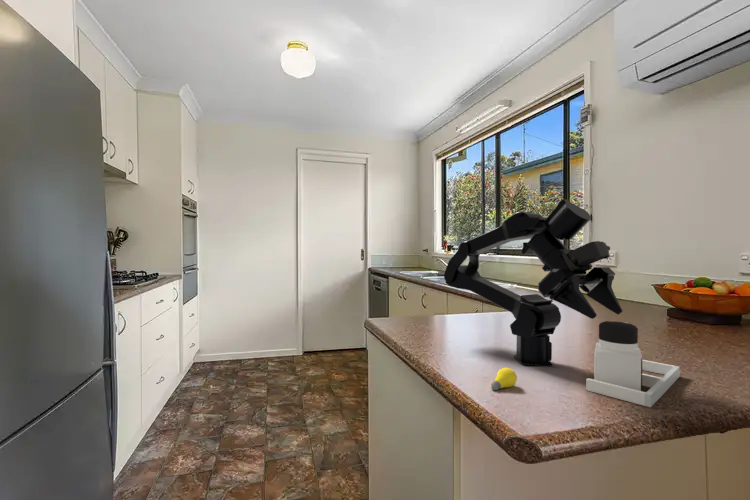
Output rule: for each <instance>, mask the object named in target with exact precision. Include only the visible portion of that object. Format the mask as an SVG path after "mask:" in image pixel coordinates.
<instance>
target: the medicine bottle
mask: <svg viewBox="0 0 750 500" xmlns="http://www.w3.org/2000/svg"><path fill="white" fill-rule="evenodd" d="M638 330H639V329H638V326H636V325H634V324H632V323H630V322H625V321H620V320H619V321H618V320H606V321H602V322H600V323H599V324H598V342H596V343H595V347H594V356H593V357H594V362H593V363H594V370H593V371H594V372H593V374H594V375H593V380H598V381H602V382H606V383H610V384H614V385H618V386H622V387H626V388H630V389H634V390H638V391H642V392H643V385H642V374H643V370H642V360H643V356H642V352H641V351H642V350H641V348H639V346H638V343H639V341H638V340H639V338H638V336H639V334H638V333H639V331H638Z"/></svg>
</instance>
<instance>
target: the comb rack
mask: <svg viewBox="0 0 750 500" xmlns="http://www.w3.org/2000/svg"><path fill="white" fill-rule="evenodd" d="M680 369H681V368H680V366H678V365H672V364H667V363H661V362H656V361H651V360H646V359H642V371H645V372H651V373H654V374H655V373H656V374H660V375H663V376H662V377H661V376H657V375H656V376H655V375H651V374H647V373H642V387H643V386H644V387H647V388H649V389H648V390H647V391H643V390H642V391H638V390H634V389H630V388H626V387H622V386H618V385H614V384H610V383H606V382H602V381H598V380H594V378H589V377H588V378H586V380H585V391H588V392H592V393H595V394H599V395H603V396H607V397H610V398H615V399H617V400H622V401H625V402H629V403H632V404H636V405H640V406H644V407H647V408H652V407H653V406H654V405H655V404H656V402H658V400H659V399H660V398H661V397H662V396H663V395H664V394H665V393H666V392H667V391H668V390H669V389H670V387H671V386H672V385H673V384H674V383H675V382H676V381H677V380H678V379H679V378H680V374H681V373H680V371H681V370H680Z"/></svg>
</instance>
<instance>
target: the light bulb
mask: <svg viewBox="0 0 750 500" xmlns="http://www.w3.org/2000/svg"><path fill="white" fill-rule="evenodd" d="M517 378H518V376H517V374H516V372H515V371H514V370H513V369H512V368H510V367H503V368H500V369H499V370H498V371H497V374H496V377H495V379H494V381H493V382H492V383H491V384H490V387H491V389H492V390H493V391H498V390H499V389H504V388H506V389H508V388H511V387H514V386H515V385H516V384H517Z"/></svg>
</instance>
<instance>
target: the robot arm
mask: <svg viewBox="0 0 750 500" xmlns="http://www.w3.org/2000/svg"><path fill="white" fill-rule="evenodd" d="M591 219H592V216H591V215H590V213H589V212H588V211H587V210H586V209H584V208H581V207H580V206H578V205H577V204H575V203H572V202H571V201H570V200H569V199H561V200H560V201H559V202H558V203H557V205H556V207H555V208H554V209H553V210H552V211H551V212H550V213H549V215H548V216H546V217H544V216H542V215H541V214H540V213H536V212H527V211H518V212H514V213H513V214H512V215H510V216H509V217H507V218H506V219H504V221H503V222H502V224H501V225H500V226H498V227H496V228H493V229H491V230H489V231H487V232H485V233H482V234H480V235H478V236H476V237H474V238H470V239H469V240H465V241H463V242H461V243H460V244H459V246H458V249H457V251H456V252H455V253H454V255H452V257H451V258H450V259H449V260H448V263H447V266H446V268H445V270H444V274H443V277H444V281H445V284H446V285H447V286H449V287H452V288H456V289H461V290H464V291H465V290H466V291H470V292H472V293H473V294H476V295H477V296H480V297H482V298H484V299H485V300H487V301H489V302H491V303H493V304H495V305H496V306H498V307H500V308H503V309H504V310H506V311H508V312H509V313H511V314H512V315H513V317H514V319H515V320H514V321H513V322H511V323H510V325H509V327H510V331H511V333H512V336H516V354H513V357H514V359H515V360H517V361H518V362H519V364H521V365H523V366H546V367H547V366H548V367H552V366H553V362H551V361H552V358H553V357H552V356H553V355H552V354H553V353H552V352H553V343H552V341H550V335H554V333H555V330H556V327H558V326H559V325H560V323H561V321H562V314H561V312H560V308H559V307H558V306H557V305H556V304H555V303H553V302H554V301H555V302H557V303H559V304H562V305H564V306H565V307H568V308H570V309H572V310H573V311H575V312H577V313H579V314H581V315H584V316H586V317H588V318H590V319H593V320H594V319H595V318H596V317H597V316H598V315H597V313H596V311H595V309H594V308H593V306H592V305H591V304H590V302H589V301H588V299H587V298H586V296H587V297H589V298H591V299H592V300H594V301H595V302H597V303H599V304H600V305H601V306H604V308H606V309H608V310H609V311H611V312H613V313H614V314H617V315H620V314H621V313H623V308H622V307H621V305H620V302H619V301H618V298H617V297H616V294H615V292H614V290H613V287H612V285H613V281H614V280H615V276H616V273H615V272H614V270H612V269H611V268H610V267H608V266H593V265H592V264H594V263H596V262H599V261H601V260H603V259H604V260H606V259H609V258H610V257H611V255H610V250H611V246H610V245H609V246H608V245H607V243H606V242H604V241H600V240H596V241H590V242H587V243H585V244H584V245H581V246H579V247H576V248H574V249H569V248H568V247H567V246H566V245H565V244H564V243H563V242H562V241H564V240H568V241H571V240H572V239H573V238H574V237H576V235H577V234H578V233H579V232H580V231H581V230H582V229H583V228H584V227H585V226H586V225H587V224H588V223H589V222H590V221H591ZM521 240H522V241H523V240H529V241H528V242H527V241H525V242H522V244H523V245H522V249H521V254H522V255H533V254H534V255H535V256H536V257H537V258H538V259H539V261H540V262H541V263H542V265H543V266H542V267H541V269H542V270H543V271H544V272H545V273H546V272H548V273H547V274H546V275H545V276H544V277H543V278H542V279H541V281H539V282H538V284H537V290H538V292H539V293H540V294H541V295H540V294H538V293H533V294H521V295H520V294H518V293H516V292H513V291H512V290H510V289H507V288H505V287H503V286H501V285H499V284H498V283H494V282H492V281H490V280H488V279H486V278H484V277H483V276H482V275H480V273H479V271H478V270H479V267H480V262H479V258H480V254H483V253H485V252H487V251H490V250H492V249H495V248H497V247H500V246H502V245H505V244H507V243H510V242H515V241H521ZM467 258H468V259H469V260H468V263H467V265H466V264H463V263H464V261H466V259H467ZM587 271H588V272H587ZM581 290H582V291H583V292H585V293H586V296H585V295H584V294H583V292H582V291H581ZM548 298H549V299H548Z"/></svg>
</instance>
